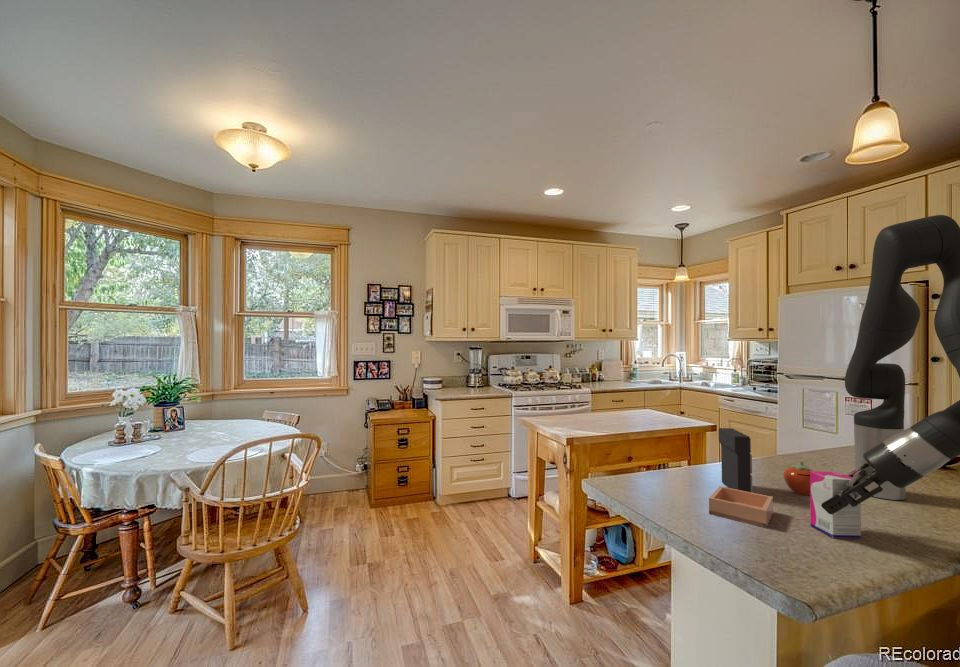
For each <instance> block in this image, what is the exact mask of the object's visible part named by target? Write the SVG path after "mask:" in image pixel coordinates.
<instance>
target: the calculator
mask: <svg viewBox="0 0 960 667" xmlns="http://www.w3.org/2000/svg"><path fill="white" fill-rule="evenodd" d="M718 442H719V443H720V446H721V448H720V449H721V451H720V453H721V457H720V458H721V483H722V484H723V485H725V486H726V487H727V488H732V489H737V490H741V491H746V492H751V493H754V491H753V475H752V474H753V456H752V454H751V453H752V440H751V437H750V435H749V436H748V435H747V434H745V433H743V432H740V431H739V430H736V429H735V428H728V427H719V428H718Z"/></svg>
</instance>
